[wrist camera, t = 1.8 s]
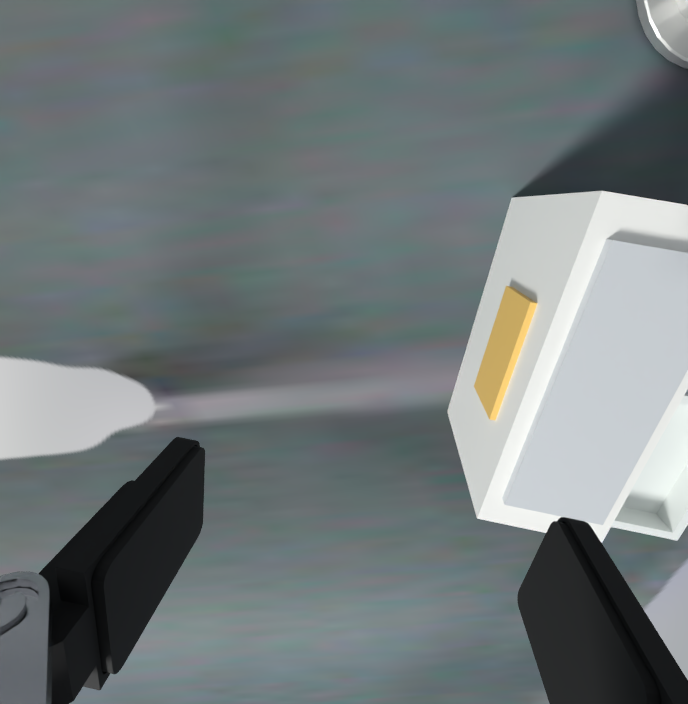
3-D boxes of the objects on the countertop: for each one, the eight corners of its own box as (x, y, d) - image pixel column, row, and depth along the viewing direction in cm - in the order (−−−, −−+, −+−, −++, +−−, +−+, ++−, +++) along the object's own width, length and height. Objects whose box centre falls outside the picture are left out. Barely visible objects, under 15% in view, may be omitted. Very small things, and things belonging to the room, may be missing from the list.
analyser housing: (506, 196, 31) (599, 188, 17) (618, 215, 30) (804, 222, 17) (443, 410, 38) (473, 524, 24) (531, 428, 37) (612, 553, 24)
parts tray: (579, 364, 35) (595, 378, 32) (735, 394, 34) (766, 411, 31) (525, 490, 40) (535, 511, 37) (659, 517, 39) (680, 541, 37)
